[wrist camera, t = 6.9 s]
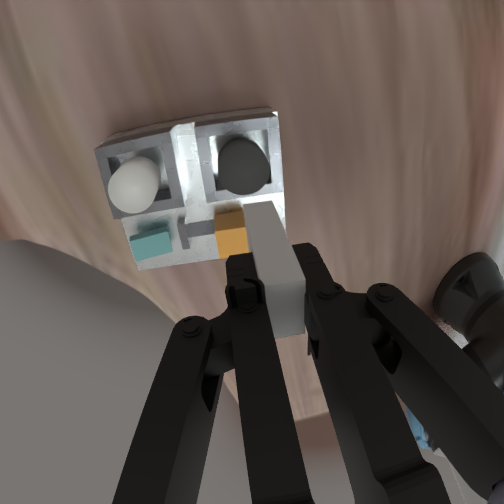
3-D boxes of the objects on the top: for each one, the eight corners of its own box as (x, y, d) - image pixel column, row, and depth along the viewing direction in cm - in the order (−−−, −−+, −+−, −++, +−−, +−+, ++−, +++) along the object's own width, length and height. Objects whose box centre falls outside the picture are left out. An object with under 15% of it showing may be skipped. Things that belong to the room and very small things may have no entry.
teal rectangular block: (172, 245, 33) (173, 251, 32) (136, 255, 32) (136, 261, 31) (166, 226, 32) (167, 231, 31) (129, 236, 31) (129, 241, 30)
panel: (280, 231, 39) (292, 263, 33) (143, 251, 38) (133, 286, 32) (270, 106, 31) (283, 116, 25) (112, 134, 30) (89, 150, 24)
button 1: (165, 194, 27) (160, 208, 25) (123, 202, 27) (115, 217, 25) (155, 152, 25) (149, 162, 23) (112, 161, 25) (102, 172, 22)
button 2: (266, 179, 28) (271, 191, 25) (220, 185, 27) (221, 198, 25) (261, 135, 25) (267, 143, 23) (214, 141, 25) (214, 150, 23)
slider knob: (247, 236, 34) (250, 254, 31) (218, 240, 33) (219, 258, 30) (243, 210, 32) (247, 226, 29) (214, 214, 32) (214, 231, 29)
